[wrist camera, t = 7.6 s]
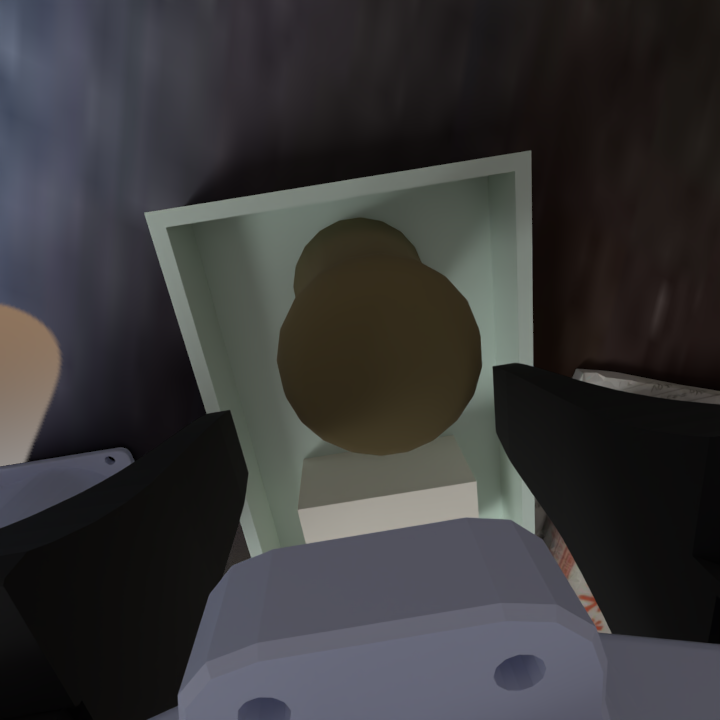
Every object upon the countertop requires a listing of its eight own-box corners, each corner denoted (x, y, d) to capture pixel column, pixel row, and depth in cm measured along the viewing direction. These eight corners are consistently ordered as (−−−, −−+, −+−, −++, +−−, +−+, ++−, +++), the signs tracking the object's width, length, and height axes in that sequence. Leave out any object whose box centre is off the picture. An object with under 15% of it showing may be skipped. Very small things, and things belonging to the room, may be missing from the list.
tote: (285, 579, 27) (277, 640, 23) (180, 209, 19) (144, 212, 16) (507, 544, 27) (535, 599, 23) (493, 159, 19) (531, 150, 16)
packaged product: (662, 693, 26) (504, 681, 25) (613, 619, 31) (478, 607, 30) (823, 431, 20) (625, 400, 19) (734, 388, 25) (570, 361, 24)
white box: (323, 546, 25) (321, 608, 21) (303, 458, 23) (297, 509, 19) (461, 524, 25) (483, 582, 21) (453, 434, 23) (476, 481, 19)
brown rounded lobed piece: (376, 187, 19) (428, 177, 8) (449, 300, 20) (565, 407, 10) (265, 271, 20) (189, 356, 9) (345, 372, 21) (354, 534, 11)
